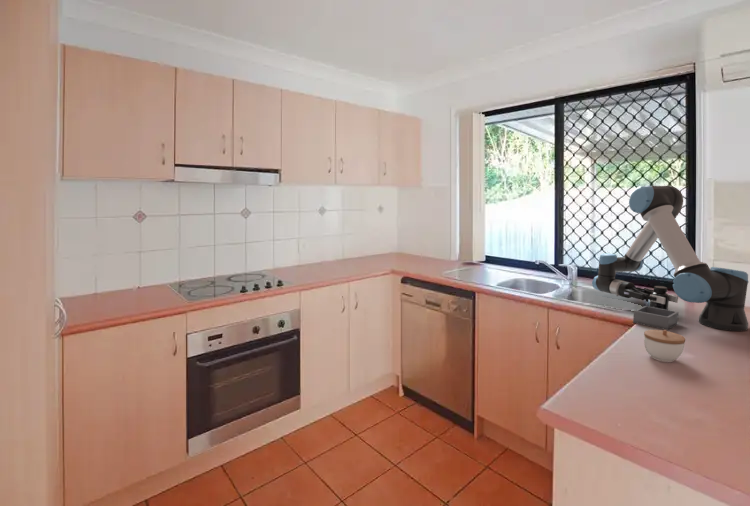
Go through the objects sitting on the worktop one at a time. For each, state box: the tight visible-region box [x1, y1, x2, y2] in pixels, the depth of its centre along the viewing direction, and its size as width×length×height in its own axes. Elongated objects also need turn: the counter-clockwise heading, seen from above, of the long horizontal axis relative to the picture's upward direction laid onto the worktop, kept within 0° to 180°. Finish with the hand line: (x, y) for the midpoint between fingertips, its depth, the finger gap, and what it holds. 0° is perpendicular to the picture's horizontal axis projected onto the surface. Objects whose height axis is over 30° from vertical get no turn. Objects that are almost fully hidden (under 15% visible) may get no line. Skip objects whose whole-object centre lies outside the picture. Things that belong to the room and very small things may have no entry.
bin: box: [632, 305, 679, 331], centre depth 166 cm, size 12×12×5 cm
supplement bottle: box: [649, 285, 670, 310], centre depth 179 cm, size 7×7×12 cm
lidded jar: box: [643, 329, 686, 363], centre depth 130 cm, size 11×11×9 cm
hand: (671, 300), depth 174 cm, fingers closed on supplement bottle, 7 cm apart
